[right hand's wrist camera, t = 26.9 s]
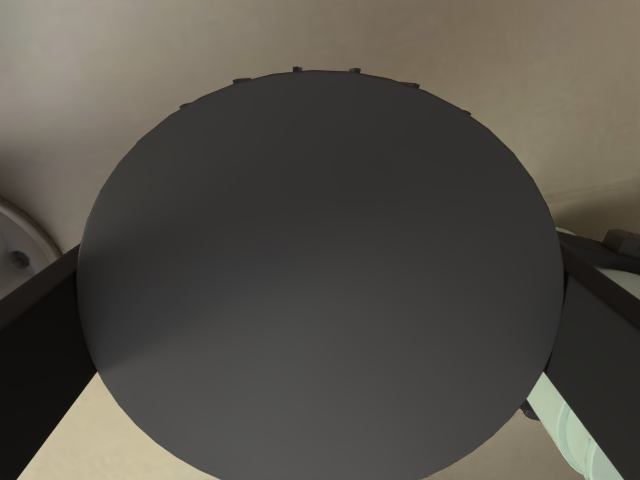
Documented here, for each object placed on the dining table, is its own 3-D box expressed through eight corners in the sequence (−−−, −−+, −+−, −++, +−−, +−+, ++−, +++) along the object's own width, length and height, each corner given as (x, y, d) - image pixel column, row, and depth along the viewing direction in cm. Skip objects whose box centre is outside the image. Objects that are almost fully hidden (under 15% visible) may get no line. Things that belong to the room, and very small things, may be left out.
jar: (463, 342, 35) (567, 533, 21) (470, 230, 32) (602, 364, 17) (584, 335, 35) (776, 522, 21) (606, 220, 32) (856, 349, 17)
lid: (296, 483, 15) (292, 555, 13) (33, 254, 12) (-33, 296, 9) (592, 307, 12) (651, 358, 10) (357, -47, 9) (369, -85, 7)
